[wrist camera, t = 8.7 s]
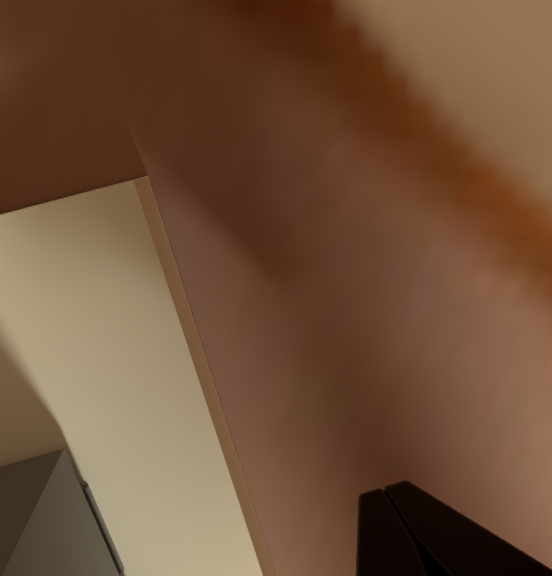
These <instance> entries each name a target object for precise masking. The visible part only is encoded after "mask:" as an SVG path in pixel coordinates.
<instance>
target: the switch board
mask: <svg viewBox="0 0 552 576" xmlns="http://www.w3.org/2000/svg"><path fill="white" fill-rule="evenodd" d="M61 449H64V450H65V452H66V454H67V456H68V459H69V461H70V463H71V466H72V468H73V470H74V472H75V475H76V477H77V479H78V482H79V484H80V486H81V488H82V491H83V493H84V495H85V498H86V500H87V502H88V504H89V507H90V509H91V511H92V514H93V516H94V518H95V520H96V523H97V525H98V527H99V530H100V532H101V534H102V536H103V539H104V541H105V543H106V546H107V548H108V550H109V553H110V555H111V557H112V559H113V562H114V564H115V566H116V569H117V571H118V573H119V575H120V576H275V573H274V569H273V566H272V563H271V560H270V557H269V554H268V551H267V548H266V544H265V541H264V538H263V535H262V532H261V529H260V526H259V522H258V519H257V516H256V513H255V510H254V507H253V504H252V500H251V497H250V494H249V491H248V488H247V485H246V482H245V478H244V475H243V472H242V469H241V466H240V463H239V460H238V456H237V453H236V450H235V447H234V444H233V441H232V438H231V434H230V431H229V428H228V425H227V422H226V419H225V416H224V412H223V409H222V406H221V403H220V400H219V397H218V394H217V390H216V387H215V384H214V381H213V378H212V375H211V372H210V369H209V365H208V362H207V359H206V356H205V353H204V350H203V347H202V343H201V340H200V337H199V334H198V331H197V328H196V325H195V321H194V318H193V315H192V312H191V309H190V306H189V303H188V299H187V296H186V293H185V290H184V287H183V284H182V281H181V277H180V274H179V271H178V268H177V265H176V262H175V259H174V255H173V252H172V249H171V246H170V243H169V240H168V237H167V233H166V230H165V227H164V224H163V221H162V218H161V215H160V211H159V208H158V205H157V202H156V199H155V196H154V193H153V190H152V186H151V183H150V180H149V177H148V176H144V177H140V178H136V179H133V180H129V181H125V182H121V183H117V184H113V185H110V186H106V187H102V188H98V189H94V190H91V191H87V192H83V193H79V194H75V195H71V196H68V197H64V198H60V199H56V200H52V201H48V202H45V203H41V204H37V205H33V206H29V207H26V208H22V209H18V210H14V211H10V212H6V213H3V214H0V467H3V466H6V465H9V464H13V463H16V462H20V461H23V460H26V459H30V458H33V457H37V456H40V455H43V454H47V453H50V452H54V451H57V450H61Z"/></svg>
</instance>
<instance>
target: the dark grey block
mask: <svg viewBox="0 0 552 576" xmlns="http://www.w3.org/2000/svg"><path fill="white" fill-rule="evenodd" d="M0 576H120V575H119V573H118V571H117V569H116V566H115V564H114V562H113V559H112V557H111V555H110V553H109V550H108V548H107V546H106V543H105V541H104V539H103V536H102V534H101V532H100V530H99V527H98V525H97V523H96V520H95V518H94V516H93V514H92V511H91V509H90V507H89V504H88V502H87V500H86V498H85V495H84V493H83V491H82V488H81V486H80V484H79V482H78V479H77V477H76V475H75V472H74V470H73V468H72V466H71V463H70V461H69V459H68V456H67V454H66V452H65V450H64V449H61V450H57V451H54V452H50V453H47V454H43V455H40V456H37V457H33V458H30V459H26V460H23V461H20V462H16V463H13V464H9V465H6V466H3V467H0Z"/></svg>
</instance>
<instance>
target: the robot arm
mask: <svg viewBox="0 0 552 576" xmlns="http://www.w3.org/2000/svg"><path fill="white" fill-rule="evenodd" d="M356 576H552V569H550V568H549V567H547V566H545V565H544V564H542V563H540V562H539V561H537V560H536V559H534V558H532V557H531V556H529V555H527V554H526V553H524V552H523V551H521V550H519V549H518V548H516V547H514V546H513V545H511V544H510V543H508V542H506V541H505V540H503V539H502V538H500V537H498V536H497V535H495V534H493V533H492V532H490V531H489V530H487V529H485V528H484V527H482V526H480V525H479V524H477V523H476V522H474V521H472V520H471V519H469V518H467V517H466V516H464V515H463V514H461V513H459V512H458V511H456V510H455V509H453V508H451V507H450V506H448V505H446V504H445V503H443V502H442V501H440V500H438V499H437V498H435V497H433V496H432V495H430V494H429V493H427V492H425V491H424V490H422V489H420V488H419V487H417V486H416V485H414V484H412V483H411V482H409V481H401V482H398V483H395V484H392V485H388V486H386V487H385V488H384V490H382V489H375V490H372V491H369V492H366V493H363V494H361V495H360V496H359V501H358V528H357V556H356Z"/></svg>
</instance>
